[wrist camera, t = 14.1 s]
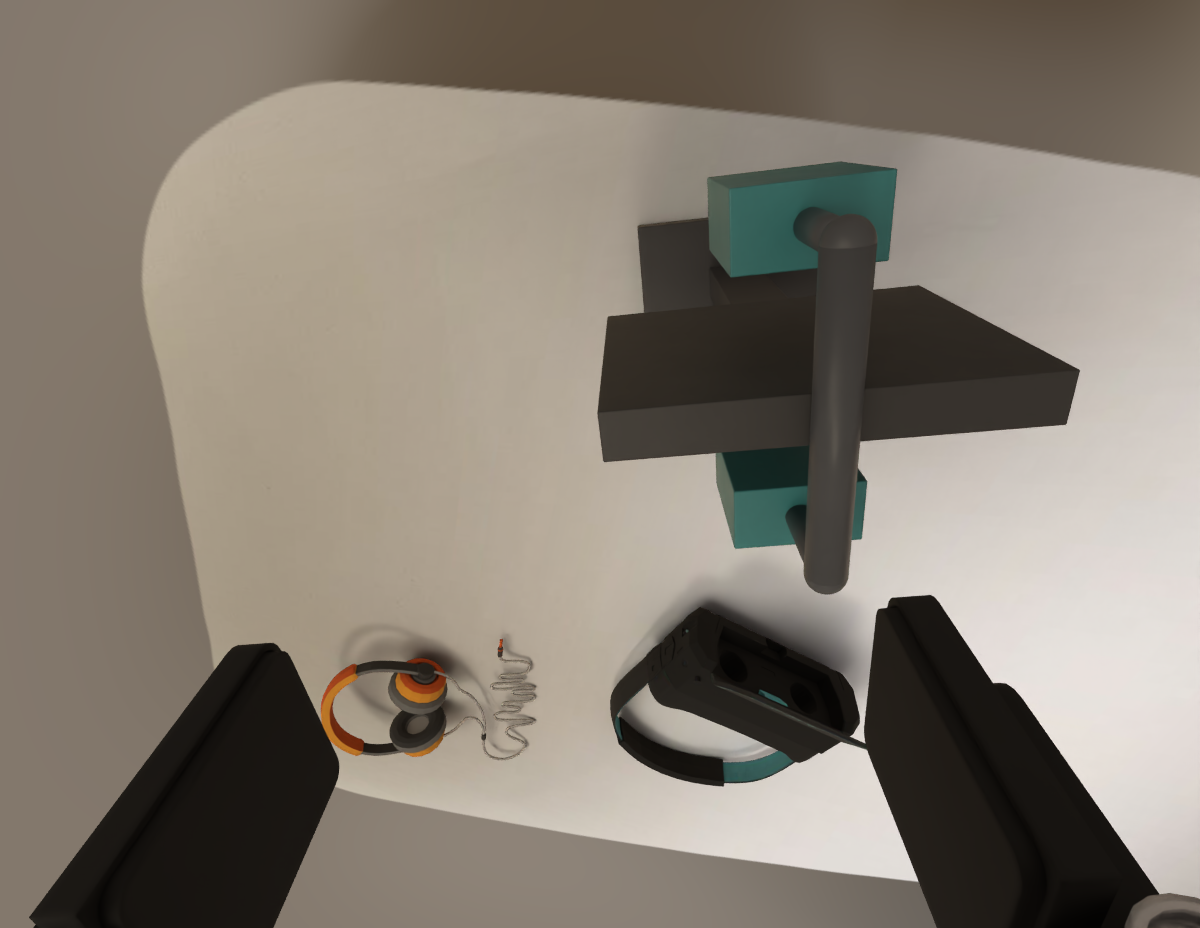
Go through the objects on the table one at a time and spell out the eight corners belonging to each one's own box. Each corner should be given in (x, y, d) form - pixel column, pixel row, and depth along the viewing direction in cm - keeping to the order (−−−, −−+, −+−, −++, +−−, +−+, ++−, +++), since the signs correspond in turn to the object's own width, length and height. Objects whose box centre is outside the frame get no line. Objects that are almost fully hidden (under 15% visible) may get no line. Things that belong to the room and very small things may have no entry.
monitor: (607, 228, 42) (586, 328, 21) (855, 201, 41) (1104, 276, 19) (618, 345, 46) (611, 531, 24) (846, 323, 44) (1048, 499, 23)
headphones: (533, 780, 64) (322, 799, 60) (528, 736, 69) (332, 750, 64) (548, 658, 57) (308, 669, 52) (542, 618, 61) (320, 624, 57)
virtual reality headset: (877, 658, 57) (909, 766, 49) (732, 758, 69) (739, 858, 61) (704, 574, 53) (708, 676, 45) (583, 696, 65) (569, 793, 57)
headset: (706, 177, 27) (755, 202, 17) (841, 161, 26) (968, 177, 17) (716, 483, 34) (755, 622, 24) (823, 475, 33) (905, 612, 24)
